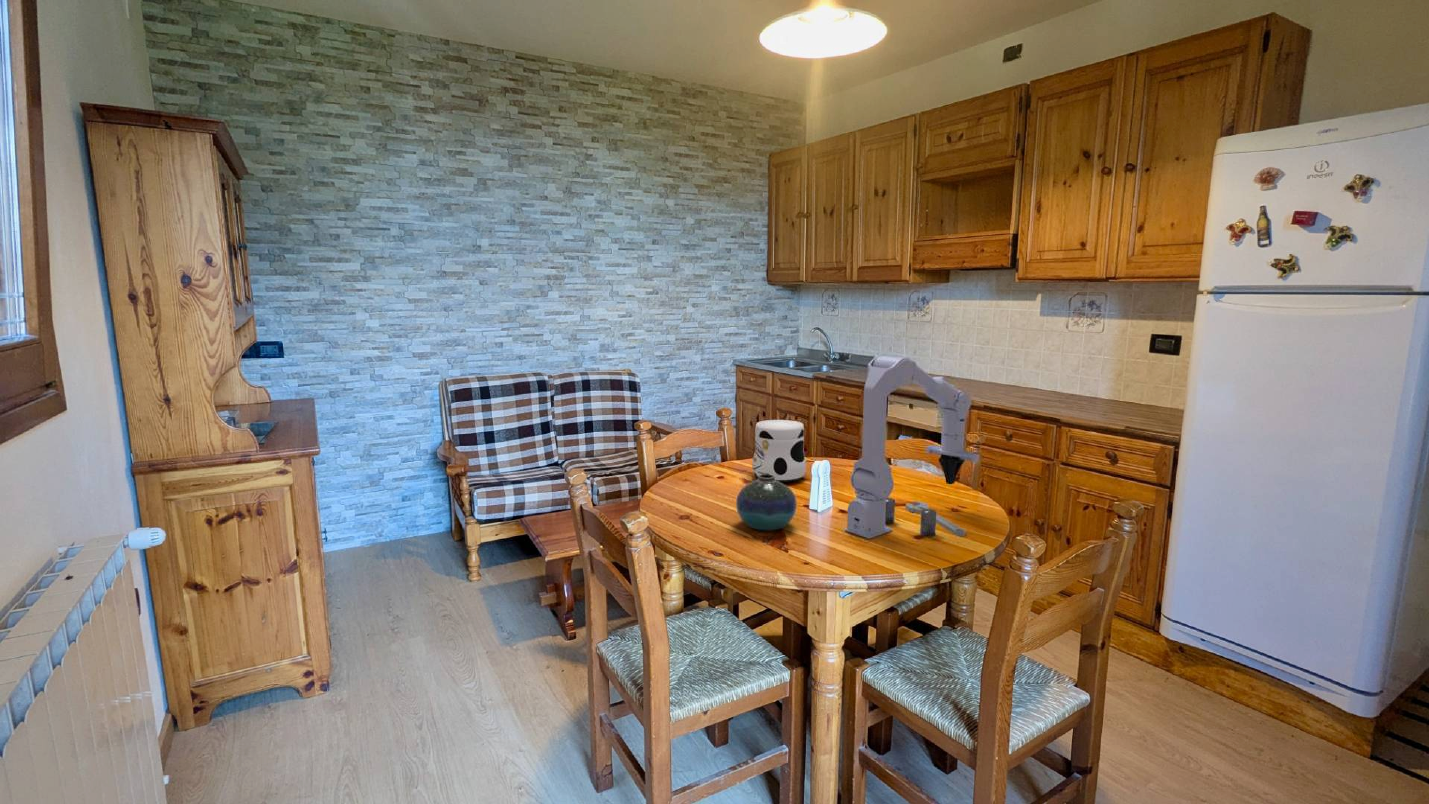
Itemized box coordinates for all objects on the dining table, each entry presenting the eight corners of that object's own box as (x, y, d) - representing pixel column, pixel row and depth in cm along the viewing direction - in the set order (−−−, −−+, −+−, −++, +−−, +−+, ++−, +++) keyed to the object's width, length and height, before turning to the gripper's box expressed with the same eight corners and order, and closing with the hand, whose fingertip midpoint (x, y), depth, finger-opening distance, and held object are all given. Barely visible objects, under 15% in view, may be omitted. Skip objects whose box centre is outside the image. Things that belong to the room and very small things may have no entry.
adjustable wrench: (968, 538, 164) (968, 531, 164) (943, 539, 164) (943, 532, 163) (922, 506, 189) (922, 500, 189) (900, 507, 188) (901, 501, 188)
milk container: (741, 478, 217) (741, 423, 214) (776, 469, 228) (777, 417, 226) (781, 489, 204) (782, 431, 202) (816, 479, 216) (818, 424, 213)
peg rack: (929, 537, 163) (931, 514, 162) (877, 521, 175) (878, 499, 174) (938, 534, 165) (939, 511, 164) (885, 518, 177) (886, 496, 176)
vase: (803, 535, 165) (804, 482, 163) (742, 538, 163) (743, 485, 161) (787, 515, 180) (787, 467, 178) (730, 518, 178) (731, 469, 176)
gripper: (986, 436, 176) (983, 486, 178) (937, 428, 187) (934, 475, 189) (972, 440, 172) (969, 491, 174) (922, 431, 183) (920, 479, 185)
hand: (950, 483), depth 181 cm, fingers closed
